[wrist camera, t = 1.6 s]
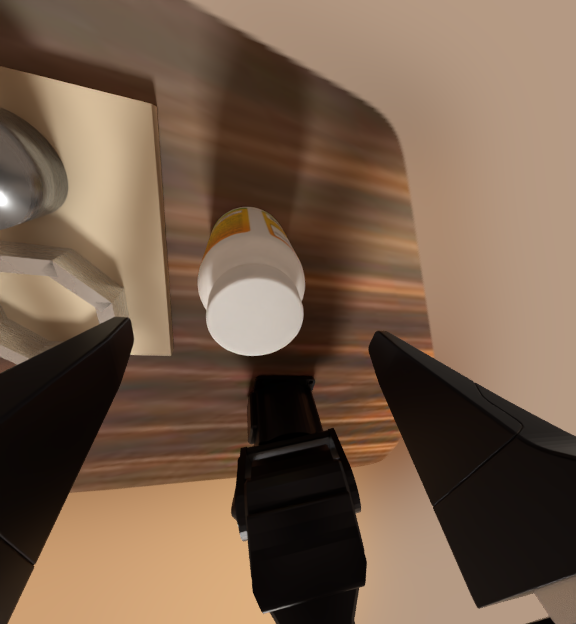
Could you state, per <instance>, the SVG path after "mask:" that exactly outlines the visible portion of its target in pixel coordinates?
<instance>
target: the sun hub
mask: <svg viewBox="0 0 576 624" xmlns="http://www.w3.org/2000/svg"><path fill="white" fill-rule="evenodd" d="M67 194H68V178H67V174H66V171H65V168H64V165H63V163H62V161H61V159H60V157H59V156H58V154H57V152H56V151H55V149H54V148H53V147H52V145H51V144H50V143H49V142H48V140H47V139H46V138H45V137H44V136H43V135H42V134H41V133H40V132H39V131H38V130H37V129H35V128H34V127H33V126H32V125H31V124H29V123H28V122H27V121H25V120H24V119H22V118H21V117H19V116H17V115H16V114H14V113H12V112H10V111H8V110H6V109H3V108H1V107H0V230H2V229H6V228H10V227H13V226H15V225H18V224H21V223H24V222H27V221H30V220H33V219H36V218H39V217H42V216H45V215H48V214H51V213H53V212H55V211H56V210H58V209H59V208H60V207H61V206H62V205H63V204H64V202H65V200H66V198H67Z"/></svg>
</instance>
